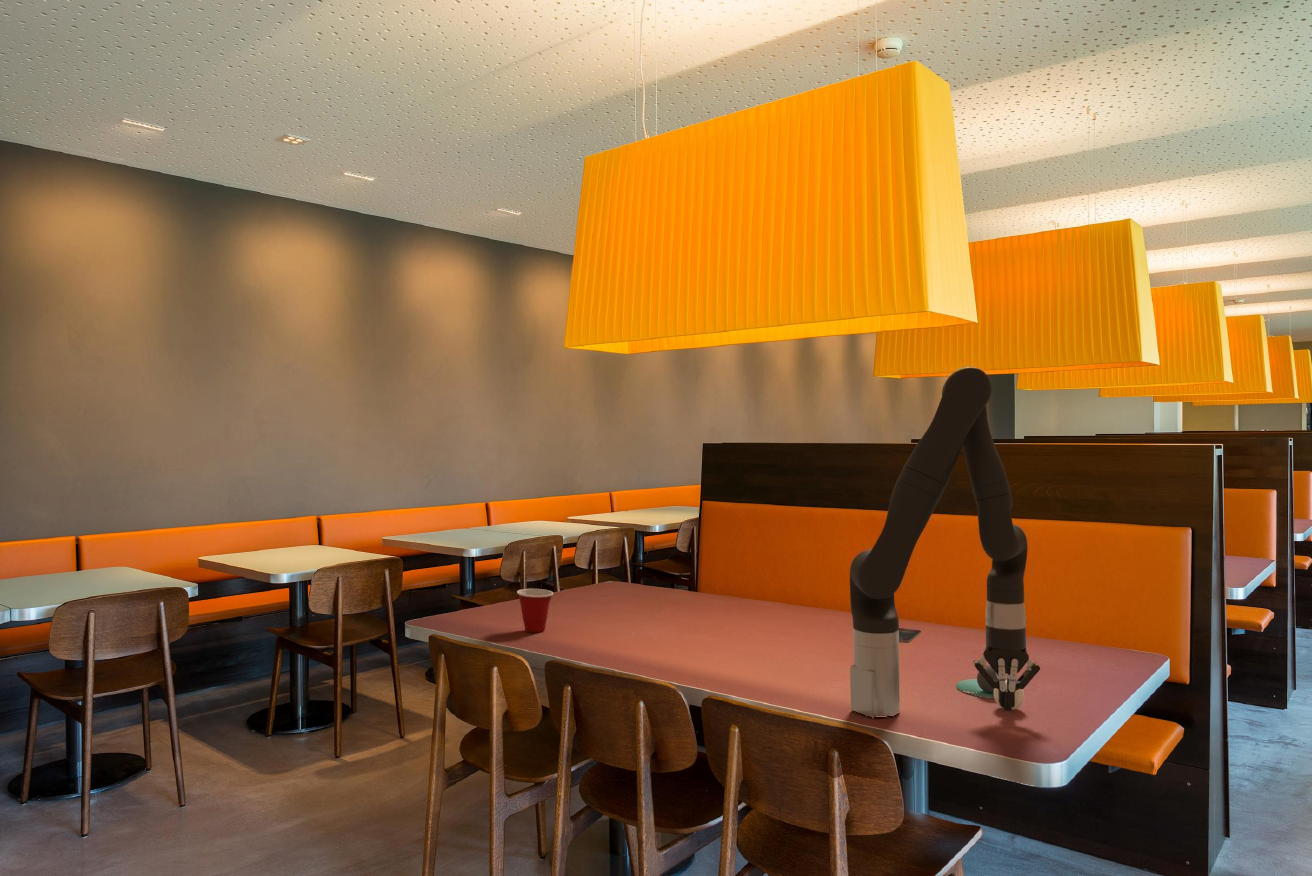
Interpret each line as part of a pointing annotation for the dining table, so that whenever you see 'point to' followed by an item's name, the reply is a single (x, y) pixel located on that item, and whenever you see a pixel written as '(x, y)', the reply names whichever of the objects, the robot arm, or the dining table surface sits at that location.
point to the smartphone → (907, 634)
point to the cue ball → (1018, 697)
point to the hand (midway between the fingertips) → (1006, 708)
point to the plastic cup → (534, 608)
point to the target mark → (972, 688)
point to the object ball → (983, 683)
